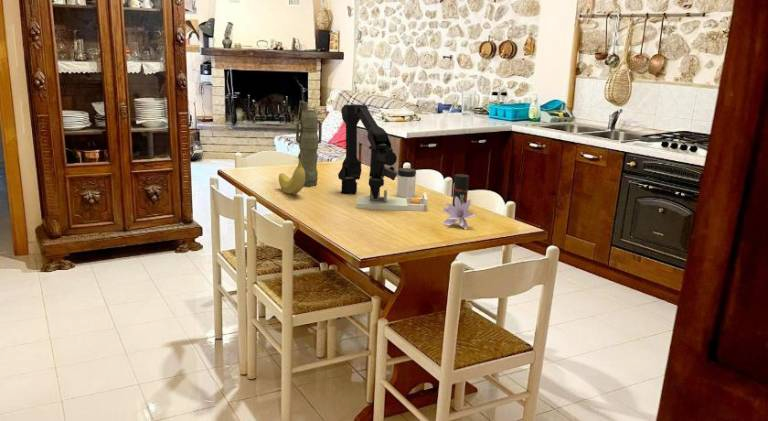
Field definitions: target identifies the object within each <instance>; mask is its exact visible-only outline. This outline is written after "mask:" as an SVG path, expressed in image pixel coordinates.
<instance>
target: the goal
mask: <svg viewBox="0 0 768 421" xmlns="http://www.w3.org/2000/svg"><path fill="white" fill-rule="evenodd" d="M413 198H414V197H409V198H408V197H407V211H415V212H416V211H418V212H419V211H420V212H427V211H428V203H429V202H428V196H427V193H426V192H423V193H422V197H417V198H418V199H419V200H420V204H411V200H412V199H413Z"/></svg>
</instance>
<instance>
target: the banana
mask: <svg viewBox="0 0 768 421" xmlns="http://www.w3.org/2000/svg"><path fill="white" fill-rule="evenodd" d="M297 155H298V156H297V158H298V165H297V166H296V168H295V169H294V171H293V173H292V176H291V177H288V175H286V174H285V173H282V172H281V173H279V174H278V183H279V185H280V188H281V190H282V191H283V192H284V193H286V194H289V195H295V194H297V193H299V192H301V191H302V189H303V188H304V187H303V186H304V183H305V171H304V169H303V167H302V164H301V159H302V153H300V152H299V153H298V154H297Z"/></svg>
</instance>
